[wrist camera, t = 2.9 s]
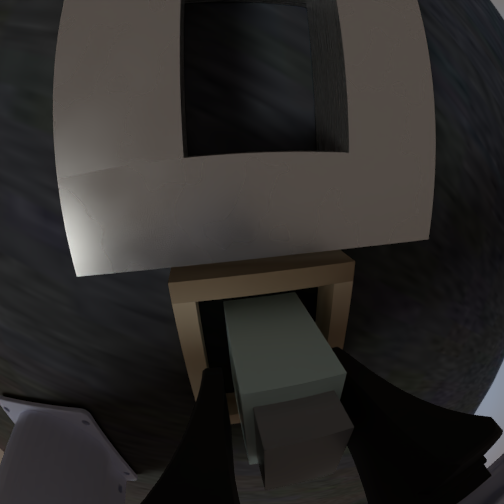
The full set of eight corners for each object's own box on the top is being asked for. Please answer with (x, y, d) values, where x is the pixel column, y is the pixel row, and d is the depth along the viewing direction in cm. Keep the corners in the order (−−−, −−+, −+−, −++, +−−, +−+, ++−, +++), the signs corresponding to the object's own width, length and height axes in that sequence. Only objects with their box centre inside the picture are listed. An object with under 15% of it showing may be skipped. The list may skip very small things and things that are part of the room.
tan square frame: (321, 385, 14) (331, 404, 13) (201, 405, 13) (203, 426, 12) (337, 247, 11) (355, 261, 10) (171, 265, 10) (168, 283, 9)
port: (391, 221, 11) (431, 241, 9) (100, 248, 10) (74, 279, 7) (374, -22, 7) (406, -43, 5) (98, -29, 5) (79, -60, 3)
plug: (291, 369, 13) (338, 477, 7) (232, 378, 13) (256, 496, 7) (295, 291, 12) (369, 409, 6) (223, 301, 11) (250, 439, 5)
